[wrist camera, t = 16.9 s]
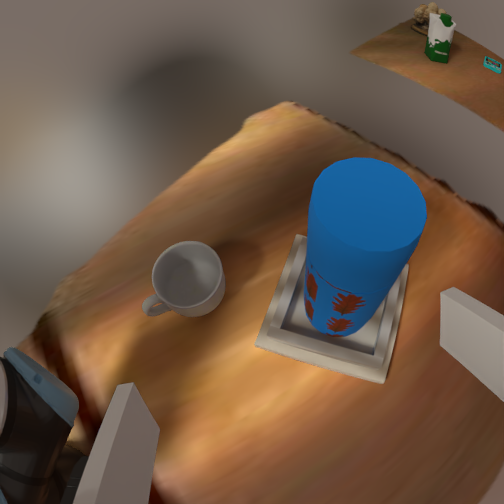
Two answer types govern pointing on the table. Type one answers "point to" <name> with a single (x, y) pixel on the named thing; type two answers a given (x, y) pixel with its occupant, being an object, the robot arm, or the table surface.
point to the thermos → (358, 241)
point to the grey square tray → (321, 345)
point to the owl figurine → (425, 17)
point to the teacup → (186, 281)
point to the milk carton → (439, 37)
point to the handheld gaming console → (492, 65)
